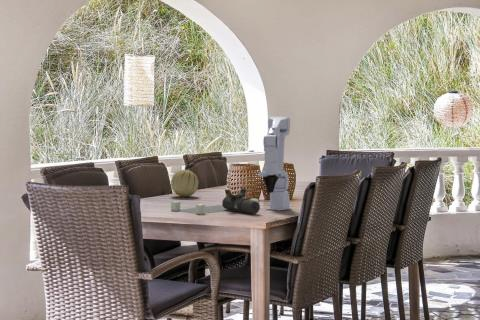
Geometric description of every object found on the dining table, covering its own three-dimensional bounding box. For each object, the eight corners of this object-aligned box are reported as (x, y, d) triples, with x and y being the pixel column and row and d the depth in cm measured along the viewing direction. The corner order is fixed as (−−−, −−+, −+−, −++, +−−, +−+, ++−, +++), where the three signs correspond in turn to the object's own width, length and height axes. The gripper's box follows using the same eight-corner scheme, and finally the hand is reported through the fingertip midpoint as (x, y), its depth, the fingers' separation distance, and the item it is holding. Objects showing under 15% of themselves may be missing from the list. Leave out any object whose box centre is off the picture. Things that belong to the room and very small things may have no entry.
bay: (229, 204, 410) (229, 195, 410) (258, 207, 397) (258, 199, 397) (171, 210, 380) (171, 201, 380) (200, 214, 368) (200, 205, 367)
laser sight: (246, 215, 367) (246, 192, 366) (217, 209, 385) (217, 188, 384) (263, 213, 372) (263, 191, 372) (234, 208, 391) (234, 187, 390)
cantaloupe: (166, 197, 436) (167, 169, 435) (176, 194, 450) (177, 167, 449) (192, 198, 432) (193, 170, 431) (202, 196, 446) (202, 168, 445)
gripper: (274, 160, 373) (273, 190, 374) (253, 162, 362) (253, 192, 363) (286, 161, 369) (285, 191, 369) (265, 162, 358) (265, 193, 359)
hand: (270, 192), depth 366 cm, fingers closed
